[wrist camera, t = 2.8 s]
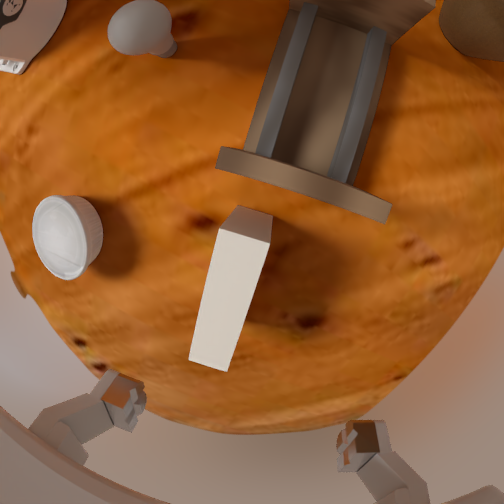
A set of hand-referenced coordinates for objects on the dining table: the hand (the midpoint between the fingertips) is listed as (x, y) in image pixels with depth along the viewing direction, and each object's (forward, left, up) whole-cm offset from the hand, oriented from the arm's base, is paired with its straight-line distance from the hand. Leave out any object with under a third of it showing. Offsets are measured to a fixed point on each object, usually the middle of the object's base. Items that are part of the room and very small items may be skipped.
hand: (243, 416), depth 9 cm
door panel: (-2, -5, -23) cm, 24 cm away
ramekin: (-25, -7, -24) cm, 35 cm away
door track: (+1, +17, -23) cm, 29 cm away
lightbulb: (-17, +18, -24) cm, 35 cm away
